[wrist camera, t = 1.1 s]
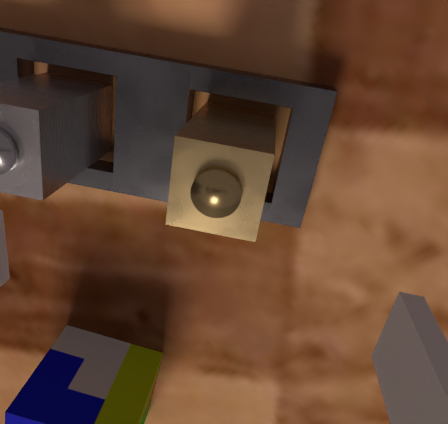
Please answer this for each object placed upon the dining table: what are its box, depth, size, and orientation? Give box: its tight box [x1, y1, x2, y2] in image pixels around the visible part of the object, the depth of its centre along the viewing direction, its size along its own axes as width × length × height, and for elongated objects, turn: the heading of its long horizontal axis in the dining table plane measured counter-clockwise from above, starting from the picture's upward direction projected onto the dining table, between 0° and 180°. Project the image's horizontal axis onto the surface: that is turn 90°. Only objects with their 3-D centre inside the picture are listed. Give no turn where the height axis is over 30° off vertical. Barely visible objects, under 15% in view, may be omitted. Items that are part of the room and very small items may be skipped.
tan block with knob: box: [166, 102, 275, 242], centre depth 25 cm, size 5×5×10 cm
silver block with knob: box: [0, 73, 113, 200], centre depth 25 cm, size 5×5×10 cm
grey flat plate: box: [0, 28, 337, 228], centre depth 29 cm, size 24×10×2 cm, turn 81°
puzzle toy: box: [5, 325, 163, 424], centre depth 37 cm, size 10×10×10 cm
